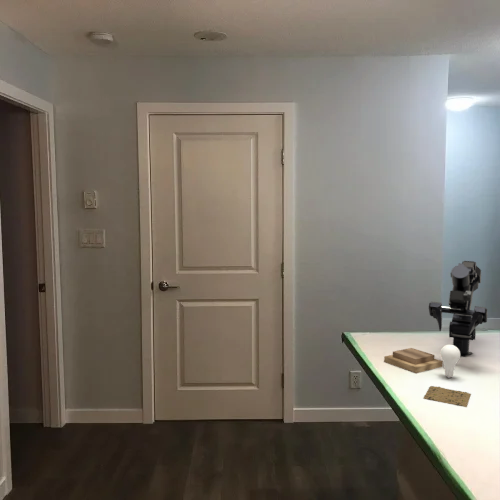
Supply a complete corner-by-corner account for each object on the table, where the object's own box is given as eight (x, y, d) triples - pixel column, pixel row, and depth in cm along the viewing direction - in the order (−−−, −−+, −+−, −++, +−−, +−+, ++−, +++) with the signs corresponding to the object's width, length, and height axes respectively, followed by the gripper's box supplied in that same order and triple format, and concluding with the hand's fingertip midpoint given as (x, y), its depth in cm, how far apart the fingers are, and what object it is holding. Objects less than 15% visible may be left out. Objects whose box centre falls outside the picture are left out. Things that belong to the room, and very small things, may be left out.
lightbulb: (458, 375, 167) (460, 343, 166) (459, 381, 161) (461, 348, 160) (438, 373, 169) (440, 341, 168) (439, 379, 163) (441, 346, 162)
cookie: (467, 409, 141) (467, 405, 141) (422, 400, 147) (422, 396, 146) (471, 395, 151) (472, 392, 151) (429, 387, 157) (429, 384, 157)
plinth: (410, 356, 188) (410, 345, 188) (442, 366, 176) (443, 355, 176) (384, 361, 181) (384, 350, 180) (416, 373, 169) (416, 361, 168)
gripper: (430, 279, 179) (423, 315, 170) (488, 284, 169) (484, 322, 161) (433, 297, 186) (426, 333, 178) (489, 303, 177) (484, 341, 169)
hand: (454, 332), depth 171 cm, fingers open, 9 cm apart
